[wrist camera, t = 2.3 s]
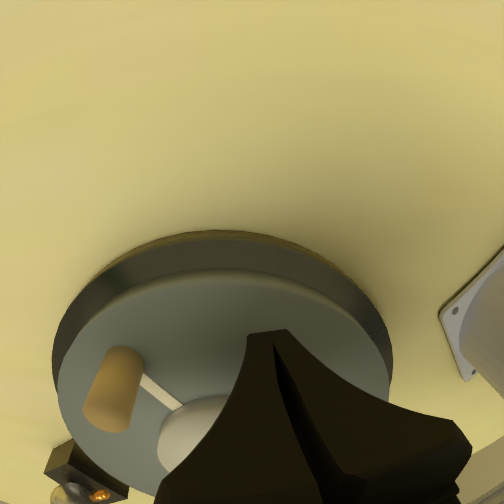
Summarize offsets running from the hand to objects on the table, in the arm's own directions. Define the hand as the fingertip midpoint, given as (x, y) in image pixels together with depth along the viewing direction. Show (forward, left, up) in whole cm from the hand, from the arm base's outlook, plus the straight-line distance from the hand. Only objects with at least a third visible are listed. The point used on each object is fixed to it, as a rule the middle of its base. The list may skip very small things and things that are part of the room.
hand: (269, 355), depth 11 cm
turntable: (+5, +4, -3) cm, 7 cm away
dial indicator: (+18, +4, -4) cm, 19 cm away
